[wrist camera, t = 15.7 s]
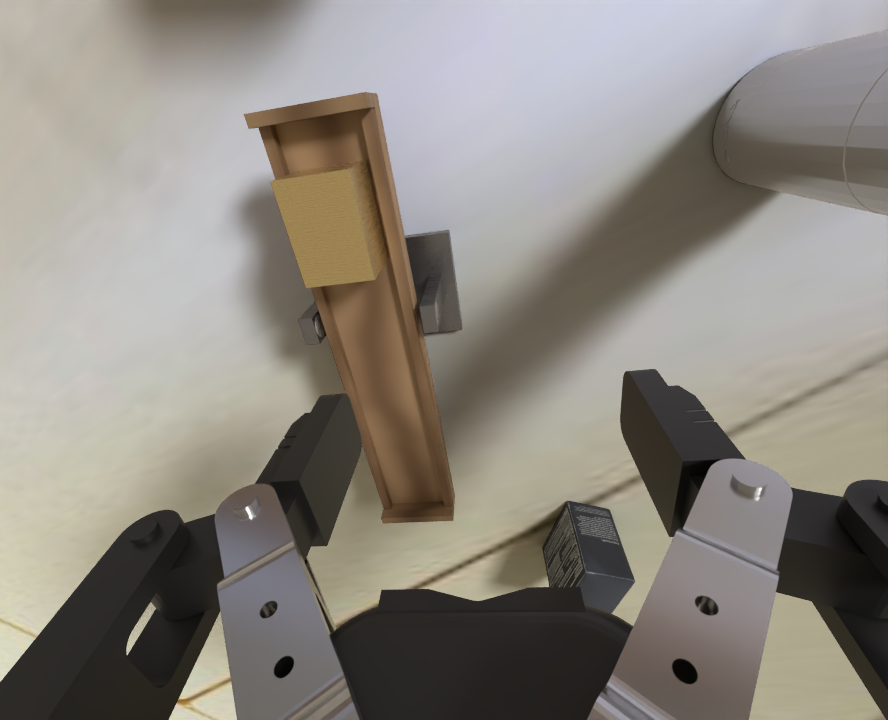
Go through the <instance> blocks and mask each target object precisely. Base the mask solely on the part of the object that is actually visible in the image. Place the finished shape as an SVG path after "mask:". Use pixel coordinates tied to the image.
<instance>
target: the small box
mask: <svg viewBox="0 0 888 720" xmlns="http://www.w3.org/2000/svg"><path fill="white" fill-rule="evenodd" d="M542 549H543V554H544V559H545V564H546V570H547V575H548V581H549V587H581V592H582V597H583V601H584V604H586V605H590V606H594V607H596V608H599V609H602V610H605V611H607V612H609V613H612V612H613V611H614V609H615V608H616V607H617V605H618V604H619V603H620V601H621V600H622V599H623V597H624V596H625V595H626V593H627V592H628V591H629V589H630V588H631V587H632V585H633V584H634V583H635V580H634V577H633V574H632V571H631V568H630V566H629V563H628V560H627V557H626V555H625V552H624V549H623V546H622V543H621V541H620V538H619V535H618V532H617V529H616V526H615V524H614V521H613V518H612V515H611V512H610V510H609V509H605V508H600V507H596V506H591V505H586V504H581V503H577V502H572V501H567V502H566V504H565V506H564V508H563V510H562V512H561V514H560V516H559V517H558V519H557V521H556V523H555V525H554V527H553V529H552V531H551V533H550V535H549V536H548V538H547V540H546V542H545V544H544V546H543V548H542Z"/></svg>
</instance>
